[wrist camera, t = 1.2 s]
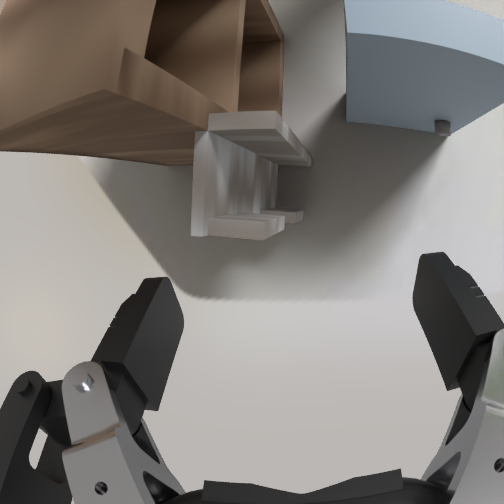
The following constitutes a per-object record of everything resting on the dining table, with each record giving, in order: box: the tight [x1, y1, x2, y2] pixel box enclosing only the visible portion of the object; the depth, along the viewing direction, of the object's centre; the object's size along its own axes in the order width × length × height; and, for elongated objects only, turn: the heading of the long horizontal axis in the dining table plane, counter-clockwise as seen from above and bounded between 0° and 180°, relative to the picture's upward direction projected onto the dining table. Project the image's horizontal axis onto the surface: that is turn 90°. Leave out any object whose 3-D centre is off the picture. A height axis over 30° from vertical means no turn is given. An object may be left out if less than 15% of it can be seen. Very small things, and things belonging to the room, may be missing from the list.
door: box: [344, 0, 504, 136], centre depth 15 cm, size 4×10×16 cm, turn 86°
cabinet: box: [0, 0, 312, 241], centre depth 17 cm, size 19×15×22 cm
